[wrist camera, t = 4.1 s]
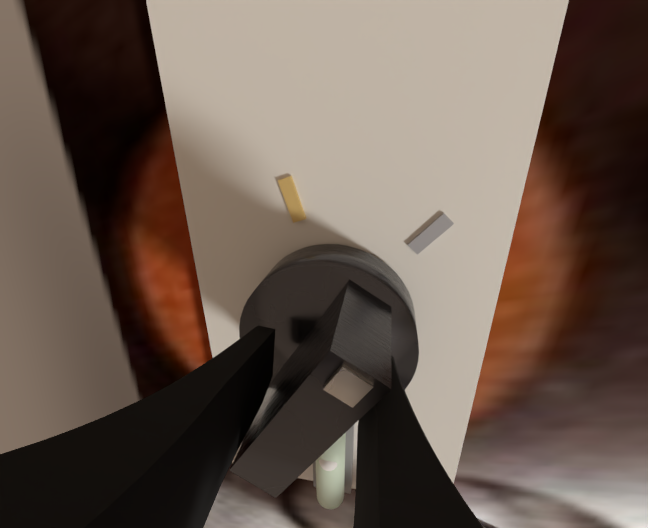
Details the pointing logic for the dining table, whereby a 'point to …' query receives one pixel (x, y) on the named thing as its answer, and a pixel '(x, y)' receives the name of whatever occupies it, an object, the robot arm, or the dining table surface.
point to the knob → (323, 355)
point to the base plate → (360, 163)
